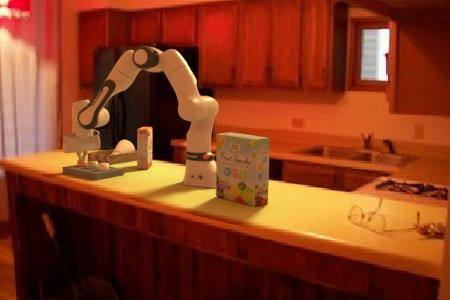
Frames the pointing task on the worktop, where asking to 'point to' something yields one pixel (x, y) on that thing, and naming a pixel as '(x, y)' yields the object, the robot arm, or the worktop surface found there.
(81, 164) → the terracotta button
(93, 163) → the sage button
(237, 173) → the snack box
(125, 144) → the cream teardrop
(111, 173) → the panel
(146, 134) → the cracker box
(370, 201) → the worktop surface
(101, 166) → the ivory button
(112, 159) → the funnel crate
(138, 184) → the worktop surface
